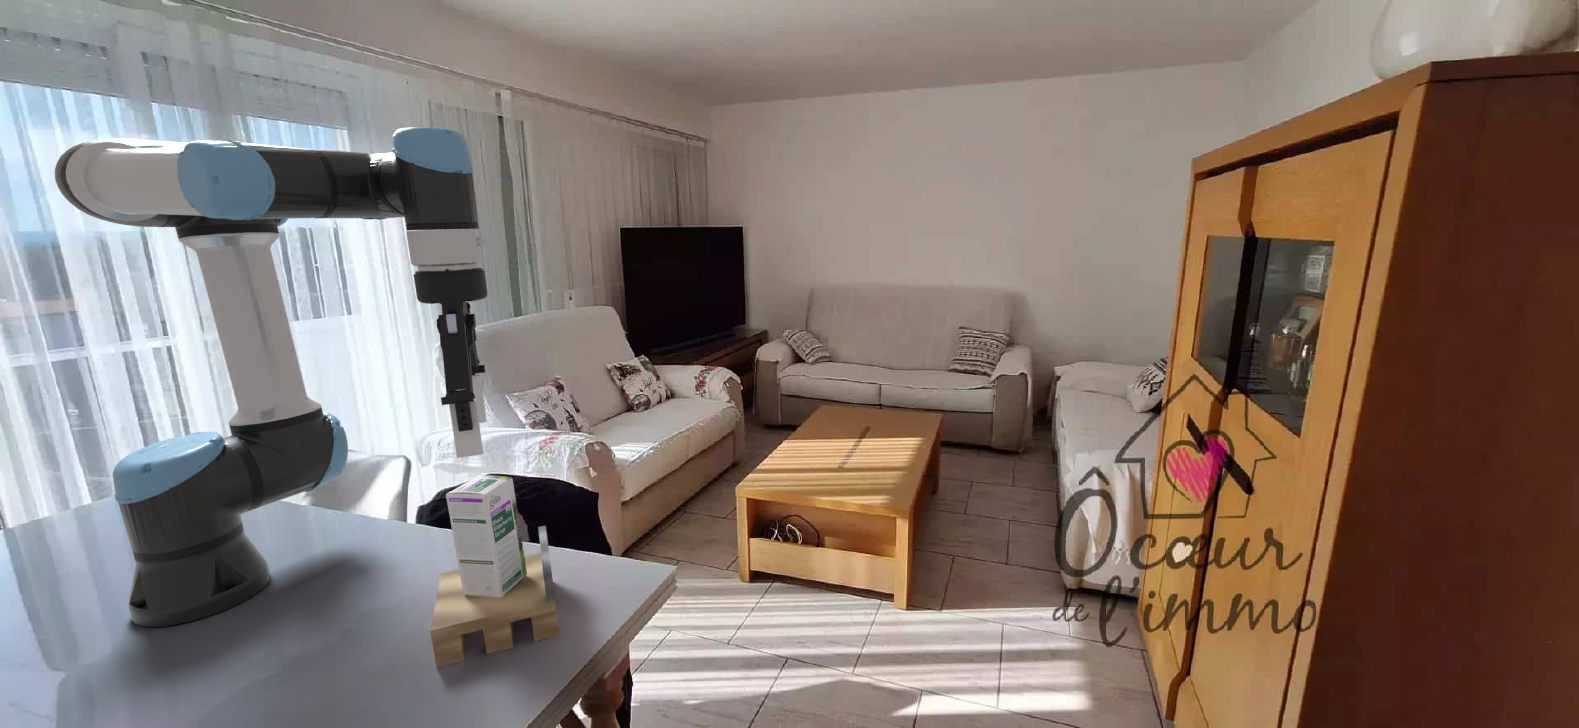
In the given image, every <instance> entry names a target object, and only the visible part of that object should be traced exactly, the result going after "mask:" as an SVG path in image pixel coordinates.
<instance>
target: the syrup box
mask: <svg viewBox="0 0 1579 728" xmlns="http://www.w3.org/2000/svg"><path fill="white" fill-rule="evenodd" d="M445 498H446V503H447V508H448V514H449V519H450V521H449V522H450V525H451V532H452V537H453V542H454V549H455V553H456V559H457V564H458V570H459V572H460V577H461V583H462V589H463V593H464V595H469V596H477V597H489V598H503V597H504V596H505V594H506V593H507V592H508V591H509V590H511V589H512V588H513V587H514V586H515V585H516V584H517V583H518V582H519V581H520V580H521V579H523V578H524V577H525V576H526V575H527V570H526V564H525V557H524V556H525V551H524V546H523V545H524V544H523V539H522V532H521V524H520V520H519V513H518V506H517V505H518V504H517V499H516V493H515V487H514V480H513V478H512V476H510V477H509V476H505V475H504V476H502V475H474V477H472V478H471V479H470V480H468V481H467V482H465V483H463V484H461V485H459V486H458V487H456V488H455V489H453V490H451V491H449V492H447V493H446V494H445Z"/></svg>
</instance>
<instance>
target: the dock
mask: <svg viewBox="0 0 1579 728" xmlns="http://www.w3.org/2000/svg"><path fill="white" fill-rule="evenodd" d="M547 533H548V532H547V526H546V525H542V526H538V537H539V546H540V548H539V549H540V552H537V553H533V554H527V555H524V557H525V564H526V570H527V575H526V576H525V577H524V578H523V579H521V580H520V581H519V582H518V583H517V584H516V585H515V586H514V587H513V588H512V589H511V590H509V591H508V592H507V593H506V594H505V596H504V597H503V598H489V597H477V596H469V595H464V593H463V589H462V583H461V577H460V572H459V569H457V570H452V571H447V572H442V573H440V578H439V583H438V588H437V595H436V599H435V605H434V609H433V615H432V620H431V625H430V630H429V632H430V638H431V643H432V648H433V649H432V650H433V653H434V659H435V666H436V668H440V667H444V666H448V665H452V664H455V663H458V662H463V661H465V657H466V649H467V638H468V637H467V636H468V634H469V633H474V632H477V631H480V630H482V631H483V632H482V633H483V638H484V645H485V649H486V650H485V651H486V655H488V654H493V653H497V652H500V651H504V650H508V649H512V648H514V623H513V622H517V621H521V620H525V619H529V618H531V625H532V633H533V641H534V642H539V641H542V640H547V639H549V638H554V637H558V636H560V628H559V620H558V613H557V603H556V596H555V588H554V579H553V573H552V565H551V557H550V549H549V541H548V534H547Z"/></svg>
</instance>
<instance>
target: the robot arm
mask: <svg viewBox="0 0 1579 728" xmlns="http://www.w3.org/2000/svg"><path fill="white" fill-rule="evenodd" d="M392 144H393V145H392V146H393V147H392V152H379V153H377V152H375V153H372V152H360V151H359V152H357V151H346V150H345V151H344V150H333V149H319V148H318V149H317V148H308V147H304V148H300V147H292V146H283V145H282V146H280V145H269V144H258V143H248V142H241V141H237V140H225V139H224V140H221V139H219V140H218V139H217V140H193V141H189V142H181V141H180V142H179V141H165V140H164V141H162V140H152V139H151V140H150V139H139V138H124V137H122V138H121V137H120V138H103V139H96V140H90V141H85V142H81V143H79V144H76V145H73V146H72V147H70V148H68V149H67V150H66V151H64V152H63V154H61V155H60V156H59V159H58V160H57V162H56V164H55V168H54V179H55V180H54V181H55V183H56V186H57V187H58V190H59V191H60V193H61V195H62V196H63V197H64V198H65V199H66V201H68V203H70V204H71V205H72V206H74V207H75V208H76V209H77V210H79V211H81V212H82V213H84V214H86V215H88V216H91V217H93V218H96V219H99V220H101V221H105V222H106V221H107V222H109V223H113V224H117V225H125V226H129V227H130V226H131V227H138V228H139V227H140V228H175V232H176V234H177V239H178V241H179V243H181V244H183V245H184V246H187V247H188V248H189V249H191V250H192V251H193V252H195V253H196V256H197V257H196V258H197V260H198V264H199V267H200V270H201V274H202V279H203V282H204V286H205V289H206V294H207V298H208V301H209V304H210V305H209V306H210V308H211V312H212V316H213V320H214V323H215V328H216V331H217V334H218V339H219V342H220V345H221V349H222V353H223V356H224V357H223V358H224V360H225V364H226V369H227V372H228V376H229V380H230V383H231V386H232V390H233V394H234V398H235V402H236V405H237V408H238V409H237V411H236V413H235V414H234V415H233V416H232V417H231V419H229V420H228V425H229V430H230V433H231V435H229V436H227V437H223V436H222V435H221V434H220V433H218V432H215V431H200V432H194V433H192V432H191V433H190V434H187V435H178V436H175V437H171V438H166V439H163V440H160V441H156V442H155V443H152V444H150V445H146V446H145V447H142V448H140V449H138V450H136V451H134V452H131V453H130V454H128V455H126V456H125V457H124V458H122V459H121V460H119V462H117V463H116V465H115V466H114V468H113V471H112V479H113V486H114V493H115V494H114V500H115V501H116V503H118V506H119V510H120V512H121V517H122V520H123V523H124V526H125V530H126V535H127V538H128V541H129V545H130V548H131V551H132V554H133V559H134V562H135V567H134V573H133V577H132V583H131V589H130V595H129V599H128V610H129V614H130V617H131V620H132V622H133V623H134V624H135V625H137V626H140V627H147V628H158V627H159V628H160V627H168V626H173V625H174V626H175V625H179V624H185V623H190V622H193V621H197V620H201V619H203V618H206V617H210V616H212V615H215V614H218V613H221V612H223V611H225V610H228V609H231V608H233V607H234V606H236V605H238V604H240V603H243V602H245V601H246V600H248V599H251V597H254V595H256V594H258V593H259V592H260V591H261V590H262V589H264V588H265V587H266V586H267V584H268V583H269V581H270V580H271V573H270V568H269V564H268V562H267V560H266V558H264V556H263V555H262V554H261V553H260V551H259V550H258V548H257V547H256V546H255V545H254V543H253V542H252V541H251V540H250V538H249V536H247V534H246V533H245V528H244V525H243V521H242V514H245V513H247V512H250V511H253V510H255V509H258V508H262V507H264V506H267V505H270V504H273V503H276V502H278V501H281V500H285V499H288V498H290V497H293V496H297V495H299V494H302V493H308V492H312V491H314V490H316V489H317V488H318V487H321V486H323V485H326V484H328V483H331V482H332V481H333V482H334V480H336V479H337V478H338V477H340V476H341V474H342V473H343V470H345V467H346V465H347V461H348V456H349V445H348V444H349V443H348V438H347V433H346V431H345V429H344V427H343V426H341V420H339V419H338V417H336V416H335V414H334V415H333V414H332V413H329V412H324V411H323V407H322V404H321V403H319V402H318V401H315V400H313V399H311V398H310V397H308V395H307V392H306V391H307V390H306V387H305V383H304V379H303V376H302V371H301V366H300V363H299V358H298V355H297V351H296V347H295V342H294V338H293V334H292V330H291V327H290V323H289V322H290V321H289V318H288V315H287V309H286V305H285V303H284V297H283V293H282V291H281V284H280V282H279V277H278V273H277V270H276V265H275V262H274V261H275V260H274V257H273V253H272V246H273V244H275V242H276V241H277V240H278V239H279V237H280V236H281V235H280V232H279V227H280V226H282V225H284V224H285V223H286V222H287V221H288V220H289V219H362V220H377V221H378V220H387V219H392V218H393V219H394V218H404V220H405V224H406V225H405V228H406V239H407V246H408V252H409V258H410V259H409V260H410V264H411V265H412V266H413V267H417V270H416V271H415V272H414V273H413V282H414V287H415V294H416V298H417V299H416V300H417V301H418V302H419V303H422V304H426V305H427V304H430V305H434V304H440V305H441V314H438V315H437V316H438V318H436V328H437V331H438V334H439V343H440V347H441V348H440V349H441V352H442V361H443V372H444V385H445V396H441V397H440V401H441V406H447V405H448V406H449V413H450V414H449V415H450V419H451V426H452V427H451V428H452V433H453V438H454V446H455V453H456V458H457V459H461V458H467V457H468V458H469V457H473V456H479V455H481V456H482V455H484V449H483V441H482V440H483V439H482V434H481V428H480V427H481V426H480V424H482V423H487V416H486V407H485V400H484V391H483V386H482V377H481V374H483V373H486V366H485V364H481V363H480V359H479V357H478V351H477V350H478V349H477V346H476V342H477V331H476V327H477V322H476V321H477V320H476V315H475V313H471V304H470V302H476V301H481V300H483V299H485V298H487V296H488V288H487V287H488V286H487V279H486V272H485V271H486V270H485V269H483V267H479V264H481V263H482V262H483V261H484V260H483V252H482V248H481V247H483V246H486V245H487V243H488V242H487V240H486V238H485V237H479V235H480V230H479V217H478V210H477V201H476V192H475V182H474V175H473V172H474V167H473V166H472V162H471V157H470V153H469V152H470V151H469V147H468V142H467V139H466V137H465V136H464V135H463V134H462V133H460V132H459V131H456V130H453V129H447V128H441V127H440V128H439V127H421V126H419V127H418V126H413V127H402V128H398V129H397V130H395V132H394V133H393V135H392Z"/></svg>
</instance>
